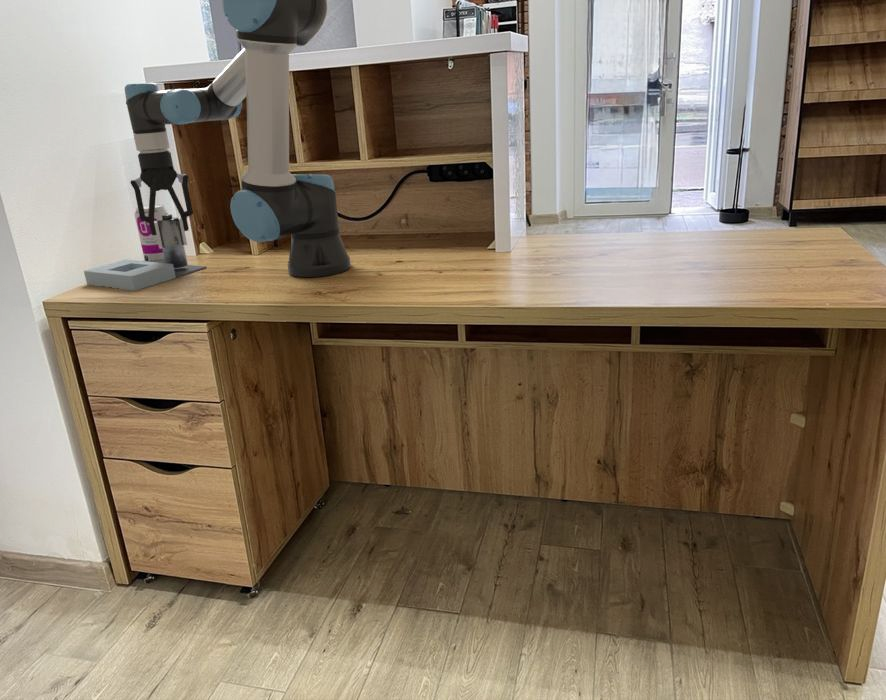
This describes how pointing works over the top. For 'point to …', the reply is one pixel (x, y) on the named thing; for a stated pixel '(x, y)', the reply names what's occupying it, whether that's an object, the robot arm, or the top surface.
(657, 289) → the top surface
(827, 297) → the top surface
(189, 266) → the pad
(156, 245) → the supplement can
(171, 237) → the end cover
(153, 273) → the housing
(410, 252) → the top surface
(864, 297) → the top surface
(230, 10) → the robot arm
